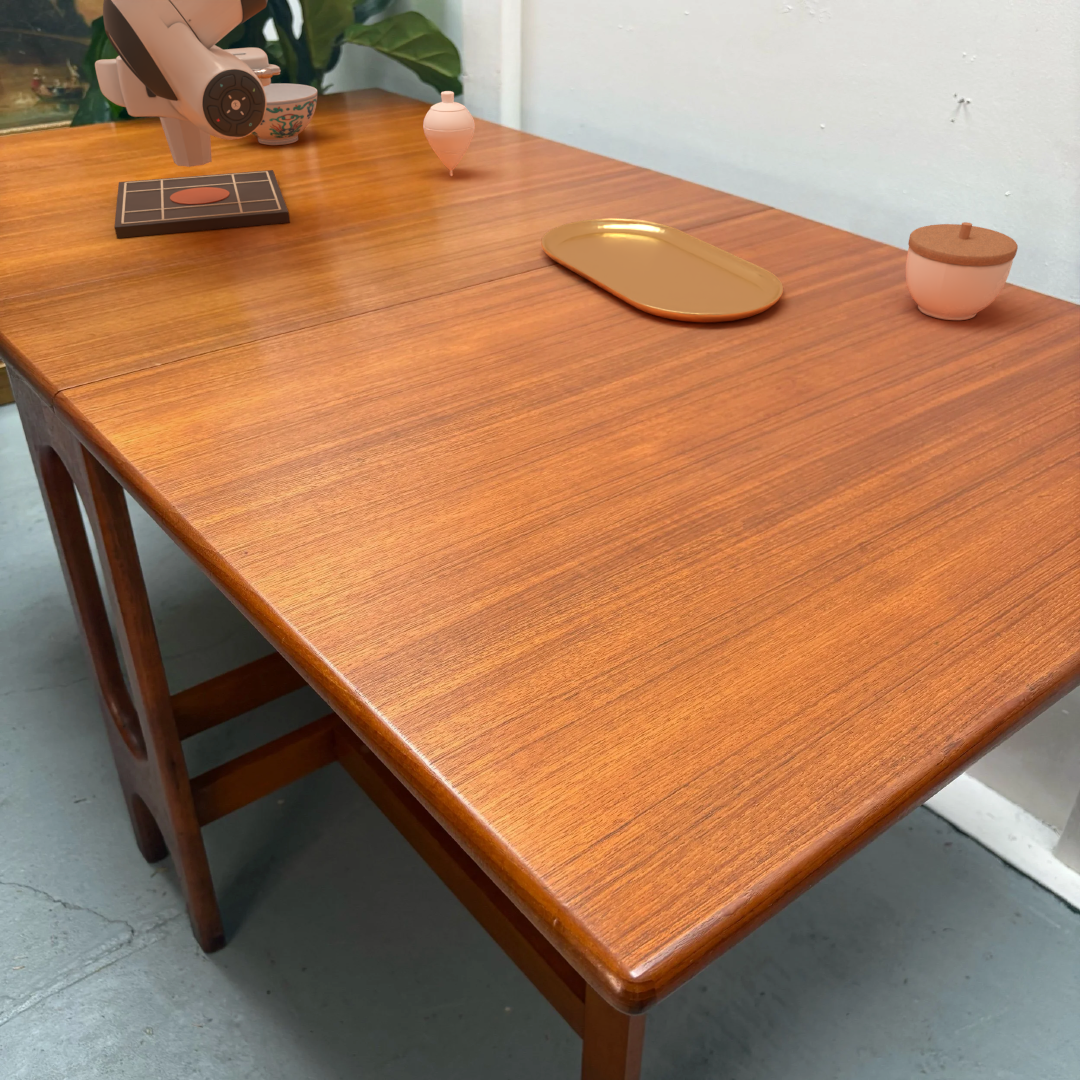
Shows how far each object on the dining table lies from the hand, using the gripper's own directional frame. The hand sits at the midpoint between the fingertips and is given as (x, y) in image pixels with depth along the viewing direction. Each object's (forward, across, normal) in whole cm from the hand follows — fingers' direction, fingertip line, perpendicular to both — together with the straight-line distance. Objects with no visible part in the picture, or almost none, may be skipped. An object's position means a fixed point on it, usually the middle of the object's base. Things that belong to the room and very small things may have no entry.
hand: (172, 63), depth 130 cm
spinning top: (0, -38, +19) cm, 43 cm away
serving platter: (-51, -41, +19) cm, 68 cm away
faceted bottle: (-1, 0, +12) cm, 12 cm away
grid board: (+3, -1, +19) cm, 19 cm away
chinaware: (+35, -22, +19) cm, 45 cm away
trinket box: (-76, -62, +20) cm, 100 cm away
